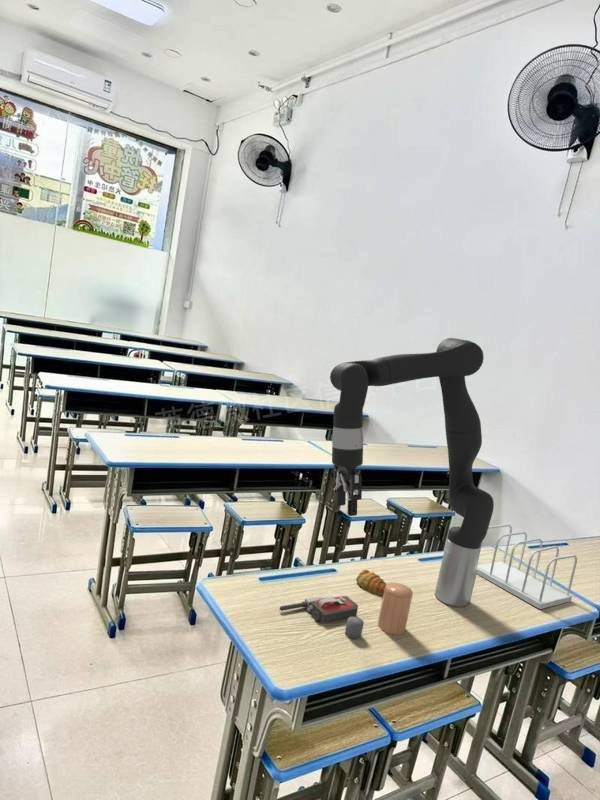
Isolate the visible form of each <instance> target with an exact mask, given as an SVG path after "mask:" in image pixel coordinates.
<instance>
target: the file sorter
mask: <svg viewBox="0 0 600 800" xmlns="http://www.w3.org/2000/svg"><path fill="white" fill-rule="evenodd" d="M504 527H505V528H506V527H508V528H509V532H508V533H504V534H501V535H499V537H498V538H497V540H496V544H495V547H494V552H493V556H492V560H491V561H492V562H488V563H481V564H479V560H480V554H481V551H482V550H481V549H482V546H483V542H482V543H481V547H480V551H479V555H478V560H477V564H476V568H475V570H476V571H477V574H476V575H478V576H480V577H482V578H484V579H486V580H487V581H490V582H491V583H493V584H494V585H496V586H498V587H500V588H502V589H503V590H506V591H507V592H508V593H511V594H512V595H514V596H515V597H518V598H519V599H521V600H522V601H525V602H527V603H528V604H530V605H532V606H534V607H535V608H538V609H539V610H542V609H546V608H550V607H554V606H558V605H561V604H565V603H569V602H572V595H570V591H571V588H572V584H573V579H574V575H575V572H576V568H577V564H578V557H577V556H576V555H574V554H570V555H564V556H563V555H562V556H559V554H560V549H559V547H558V546H557V545H553V546H548V547H544V548H543V540H542V539H541V538H532V539H528V533H527V532H526V531H518V532H513V527H512V525H511V524H507V523H506V524H499V525H498V524H497V525H489V527H488V530H489V529H498V528H504ZM516 535H524V540H521V541H517V542H516V543H515V544H514V545H513V547H512V549H511V553H510V557H509V562H506V559H507V556H508V555H507V554H508V551H509V546H510V542H511V537H512V536H516ZM504 537H507V538H508V539H507V543H506V547H505V552H504V554H503V555H504V556H503V560H502V561H501V560H500V561H496V556H497V552H498V546H499V544H500V541H501V539H502V538H504ZM533 542H539V543H540V544H539V548H538V549H536V550H533V552H532V553H531V554H530V557H529V560H528V564H527V568H526V571H523V570H522V569H521V567H522V566H521V565H522V561H523V558H524V554H525V550H526V545H527V543H533ZM522 544H523V546H522V551H521V553H520V559H519V562H518V565H517V566H518V567H516V566H514V565H512V563H513V557H514V553H515V550H516V548H517V546H519V545H522ZM553 549H556V552H555V557H553V558H551V559H550V560H549V561H548V563H547V565H546V568H545V573H544V578H543V580H542V579H539V578H538V577H537V575H536V574H537V571H538V567H539V563H540V558H541V553H542V552H544V551H549V550H553ZM537 553H538V554H537ZM536 554H537V559H536V563H535V568H534V572H533V575H531V574H529V573H530V567H531V565H532V564H531V563H532V560H533V557H534V556H535V555H536ZM570 558H574V562H573V567H572V572H571V573H570V574H571V575H570V577H569V578H570V579H569V583H568V587H567V592H565V591H564V590H563V591H562V590H561V589H559V588H556V587H554V586H553V585H552V584H553V583H554V581H553V580H554V577H555V571H556V567H557V563H558V560H564V559H570ZM552 563H553V568H552V572H551V576H550V581H549V583H547V578H548V574H549V570H550V566H551V564H552Z"/></svg>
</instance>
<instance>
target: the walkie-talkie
mask: <svg viewBox="0 0 600 800" xmlns="http://www.w3.org/2000/svg"><path fill="white" fill-rule="evenodd" d="M298 608H300V609H301V608H306V612H307V613H310V614H311V615H312V616H313V619H314V620H315V621H318V622H319V623H320V624H323V625H324V624H329V623H334V622H339V621H343V620H348V618H349V617H357V615H358V614H357V613H358V610H359V609H358V608H359V605H358V604H357V603H356V602H355V601H353V600H352V599H351V598H350V597H349V596H347V595H341V596H327V597H321V596H315V597H309V598H308V597H307V598H304V601H302V602H298V603H292V604H287V605H281V606H279V611H281V612H283V611H287V610H288V611H289V610H294V609H298Z"/></svg>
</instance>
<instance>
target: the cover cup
mask: <svg viewBox="0 0 600 800" xmlns="http://www.w3.org/2000/svg"><path fill="white" fill-rule="evenodd" d="M413 595H414V594H413V590H412V588H410V587H408V586H407V585H405V584H402V583H399V582H388V583H386V587H385V590H384V595H382V600H381V605H380V609H379V615H378V619H377V627H378V628H380V630H382V631H383V632H385V633H387V634H390V635H391V634H392V635H395V636H397V635H399V636H400V635H403V634H404V633H405V631H406V628H407V627H406V626H407V623H408V618H409V614H410V609H411V603H412V600H413Z"/></svg>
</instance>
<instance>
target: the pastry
mask: <svg viewBox="0 0 600 800" xmlns="http://www.w3.org/2000/svg"><path fill="white" fill-rule="evenodd" d="M355 581H356V582H357V585H358V586H359V587H362V589H364V590H366V591H368V592H370V593H373V594H375V595H379V596H383V595H384V590H385V587H386V584H387V583H386V582H385V581H384V579H382V578H381V576H380V575H379V574H376V573H375V572H373V571H372V572H371V571H370V570H368V569H363V570H362V571H361V572H359V573H358V574H357V577H356V579H355Z"/></svg>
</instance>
